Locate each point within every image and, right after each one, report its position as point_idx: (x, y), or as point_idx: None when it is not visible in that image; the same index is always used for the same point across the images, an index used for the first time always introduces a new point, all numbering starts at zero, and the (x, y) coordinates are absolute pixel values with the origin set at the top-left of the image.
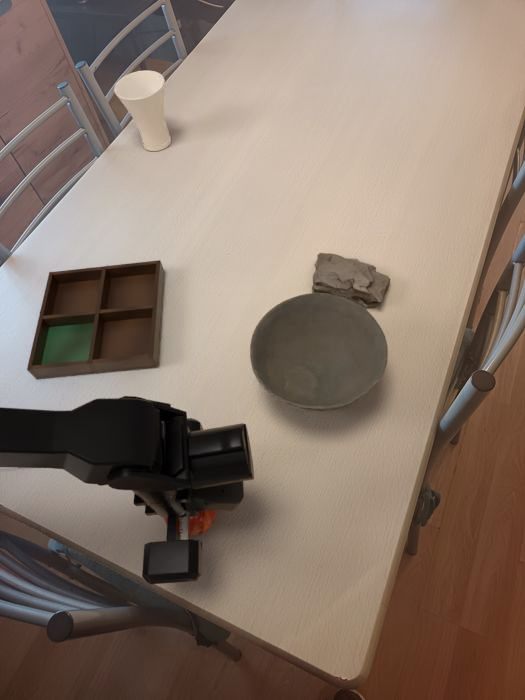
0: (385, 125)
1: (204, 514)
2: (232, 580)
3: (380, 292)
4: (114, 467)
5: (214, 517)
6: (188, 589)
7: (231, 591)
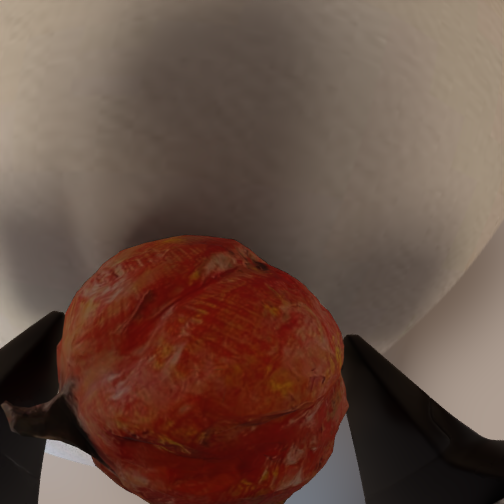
0: None
1: (284, 409)
2: (451, 195)
3: None
4: None
5: (246, 251)
6: (410, 314)
7: (468, 205)
